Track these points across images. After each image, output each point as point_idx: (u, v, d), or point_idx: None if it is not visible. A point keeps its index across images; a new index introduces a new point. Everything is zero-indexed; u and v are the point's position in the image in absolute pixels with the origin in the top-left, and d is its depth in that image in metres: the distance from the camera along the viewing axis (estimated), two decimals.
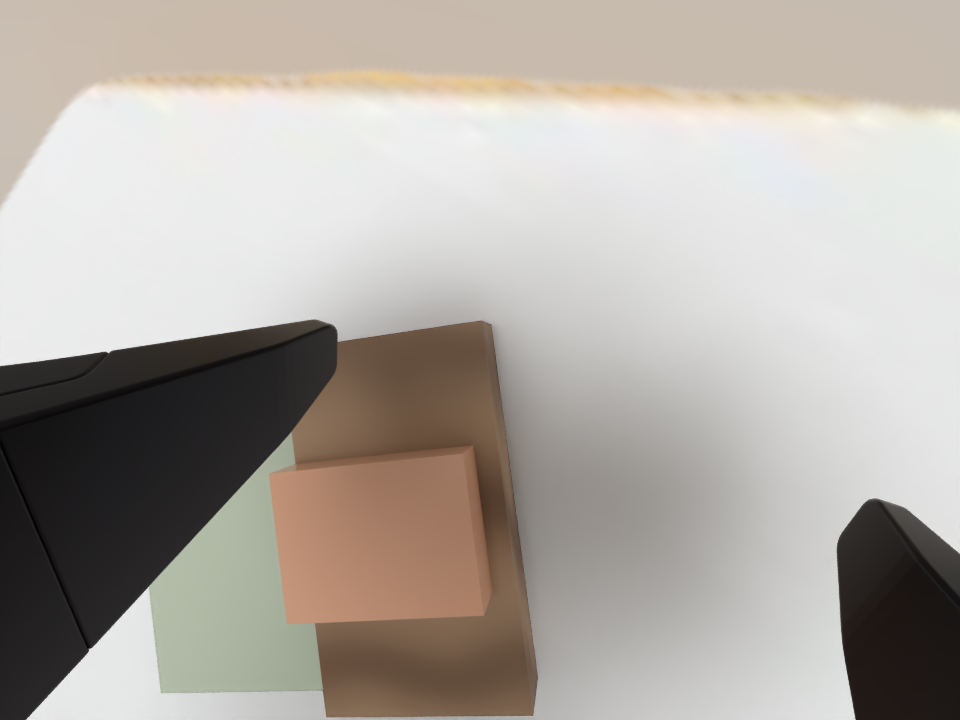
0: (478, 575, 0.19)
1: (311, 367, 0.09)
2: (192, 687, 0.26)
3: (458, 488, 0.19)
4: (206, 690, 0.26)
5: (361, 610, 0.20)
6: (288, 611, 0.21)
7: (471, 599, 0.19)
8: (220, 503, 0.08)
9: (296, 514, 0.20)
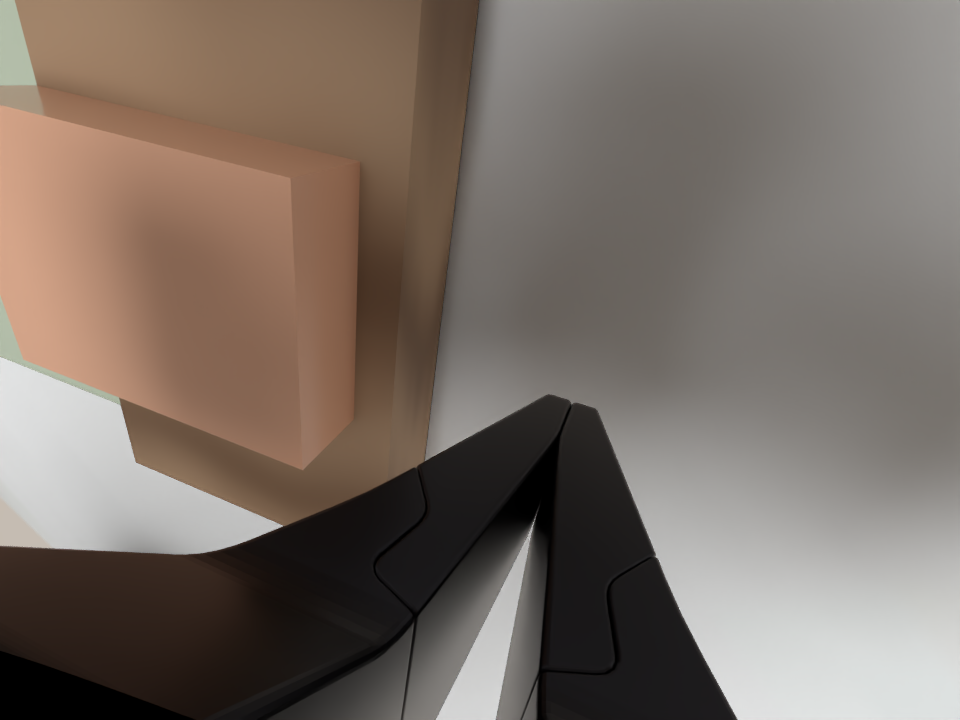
0: (302, 413, 0.10)
1: None
2: (13, 357, 0.20)
3: (276, 252, 0.09)
4: (29, 366, 0.20)
5: (122, 385, 0.12)
6: (20, 343, 0.12)
7: (285, 441, 0.11)
8: (485, 618, 0.07)
9: None
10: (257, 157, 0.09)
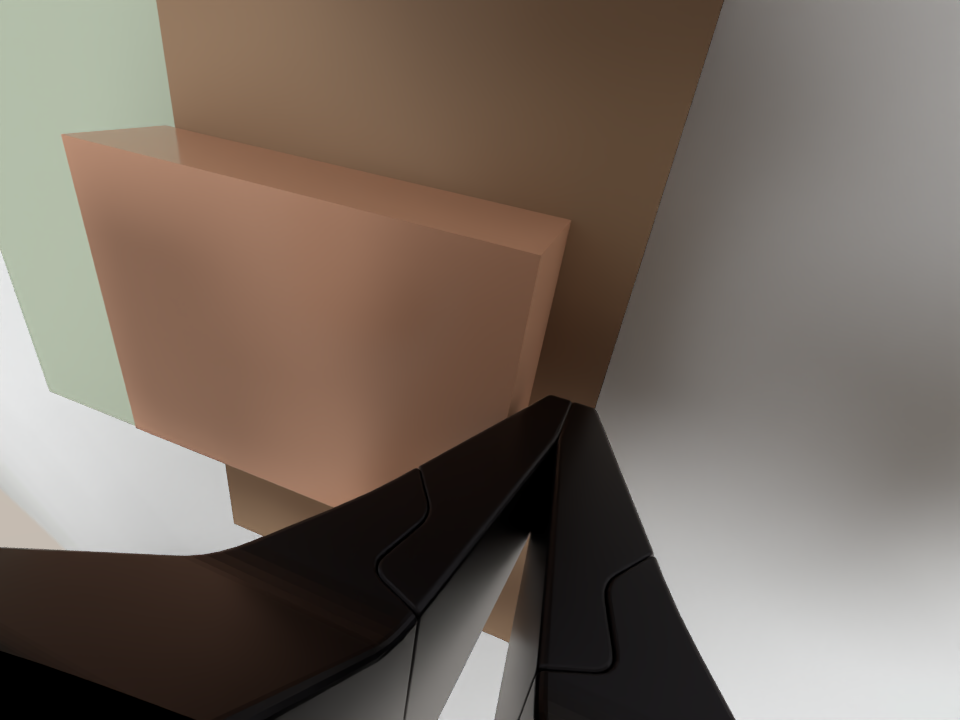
0: None
1: None
2: (85, 401, 0.19)
3: (500, 335, 0.07)
4: (102, 411, 0.19)
5: (257, 462, 0.10)
6: (135, 411, 0.11)
7: None
8: (487, 618, 0.07)
9: (131, 251, 0.09)
10: (476, 223, 0.07)
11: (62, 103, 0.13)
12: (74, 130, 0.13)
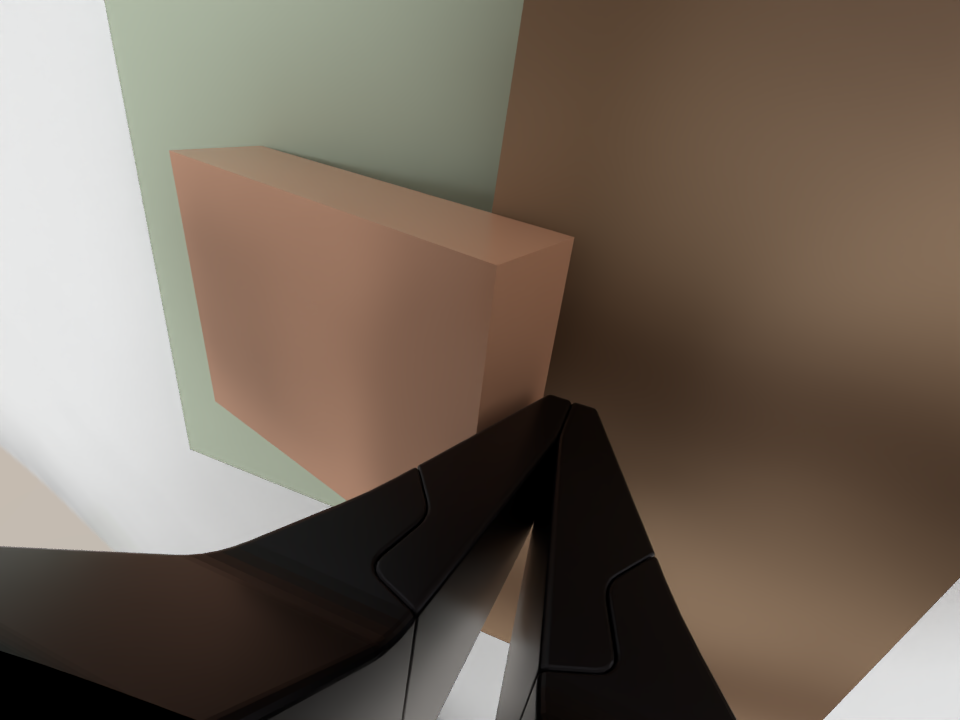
0: None
1: None
2: (233, 461, 0.17)
3: (466, 346, 0.07)
4: (252, 472, 0.17)
5: (291, 445, 0.11)
6: (214, 386, 0.13)
7: None
8: (485, 618, 0.07)
9: (209, 248, 0.11)
10: (459, 233, 0.07)
11: None
12: None
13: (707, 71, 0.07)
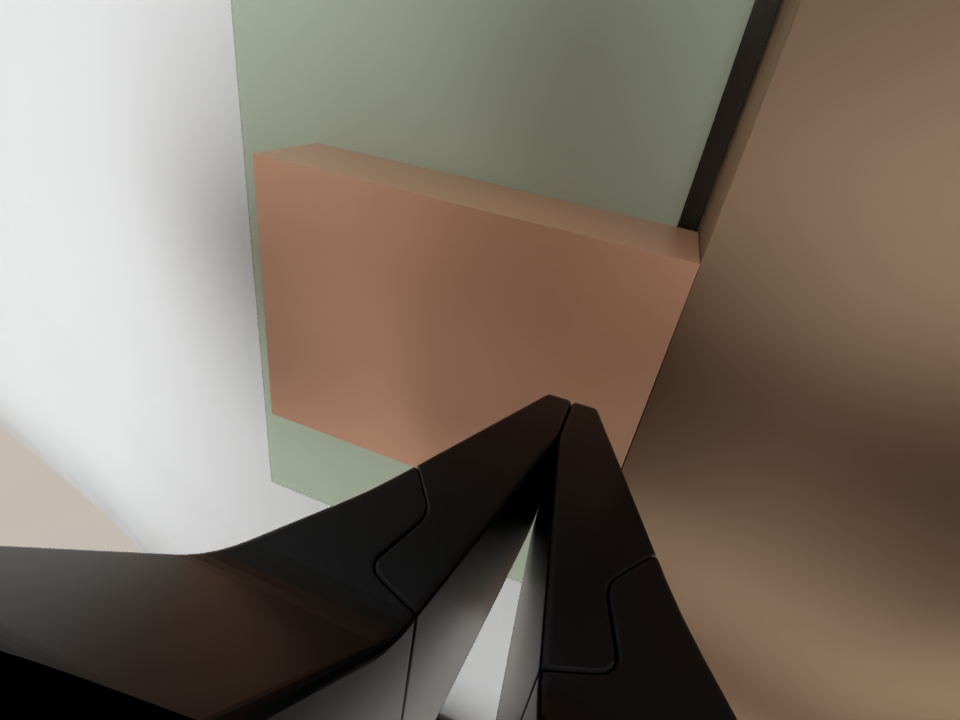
0: None
1: None
2: (318, 495, 0.17)
3: (650, 331, 0.08)
4: None
5: (391, 444, 0.12)
6: (274, 398, 0.12)
7: None
8: (485, 617, 0.07)
9: (301, 255, 0.10)
10: (631, 235, 0.08)
11: None
12: None
13: None
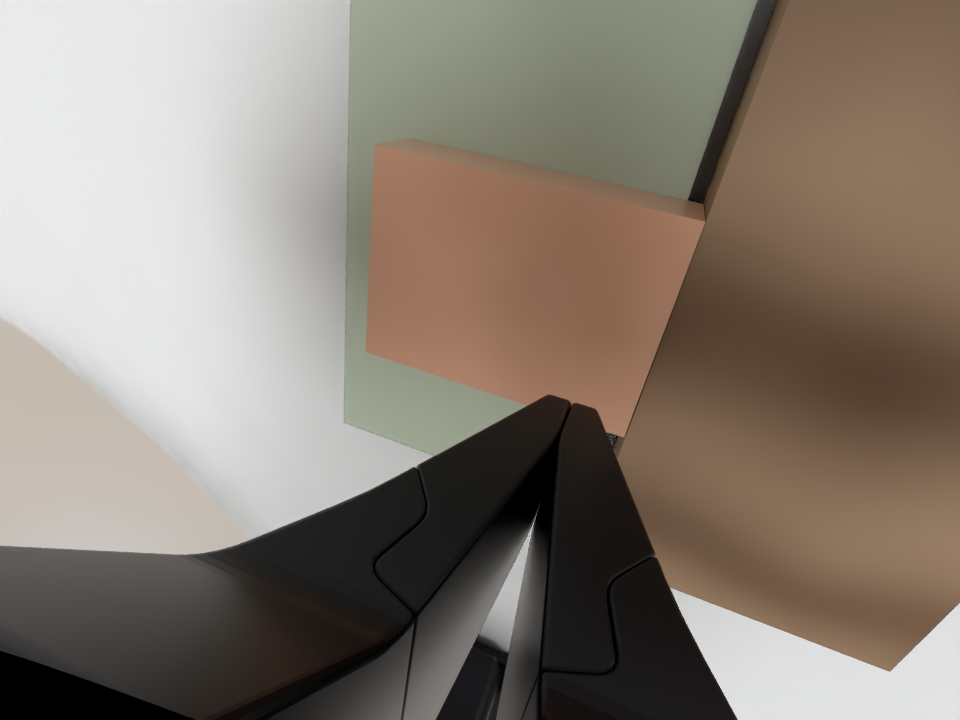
0: None
1: None
2: (385, 433, 0.20)
3: (669, 272, 0.12)
4: (403, 442, 0.20)
5: (464, 372, 0.15)
6: (369, 339, 0.16)
7: (616, 415, 0.14)
8: (485, 618, 0.07)
9: (405, 222, 0.14)
10: (655, 203, 0.12)
11: None
12: None
13: (902, 124, 0.09)
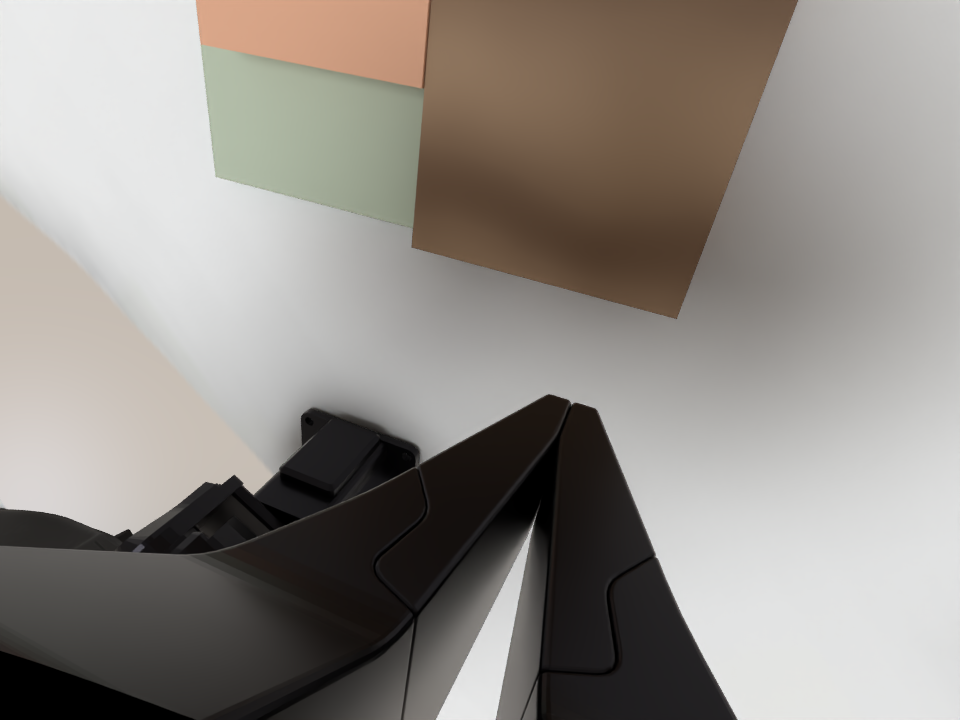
0: (427, 29, 0.15)
1: None
2: (251, 180, 0.21)
3: None
4: (268, 188, 0.21)
5: (283, 46, 0.16)
6: (201, 27, 0.17)
7: (411, 62, 0.15)
8: (485, 618, 0.07)
9: None
10: None
11: None
12: None
13: None
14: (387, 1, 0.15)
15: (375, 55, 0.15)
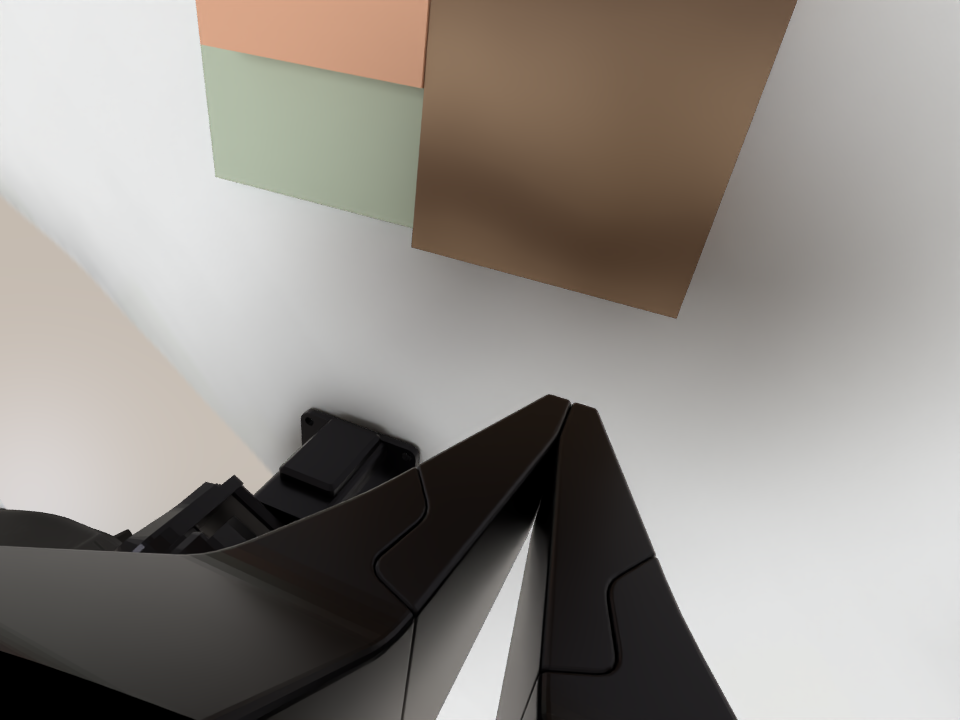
0: (426, 29, 0.15)
1: None
2: (251, 180, 0.21)
3: None
4: (267, 188, 0.21)
5: (283, 46, 0.16)
6: (201, 27, 0.17)
7: (411, 62, 0.15)
8: (485, 618, 0.07)
9: None
10: None
11: None
12: None
13: None
14: (387, 1, 0.15)
15: (375, 55, 0.15)
